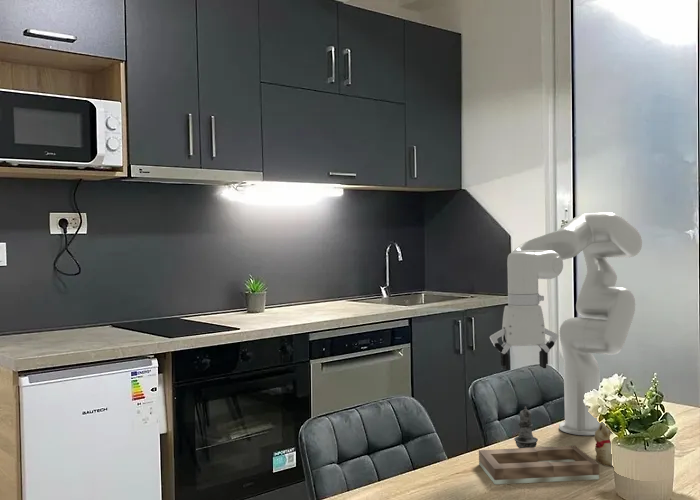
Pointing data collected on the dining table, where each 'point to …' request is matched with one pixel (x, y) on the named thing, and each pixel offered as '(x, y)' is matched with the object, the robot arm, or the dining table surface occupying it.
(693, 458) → the dining table surface
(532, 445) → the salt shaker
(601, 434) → the chocolate bunny
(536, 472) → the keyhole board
